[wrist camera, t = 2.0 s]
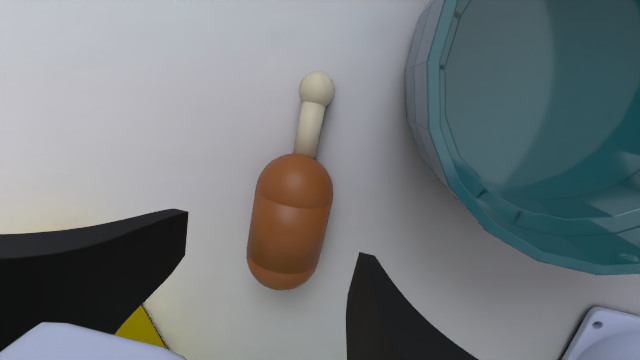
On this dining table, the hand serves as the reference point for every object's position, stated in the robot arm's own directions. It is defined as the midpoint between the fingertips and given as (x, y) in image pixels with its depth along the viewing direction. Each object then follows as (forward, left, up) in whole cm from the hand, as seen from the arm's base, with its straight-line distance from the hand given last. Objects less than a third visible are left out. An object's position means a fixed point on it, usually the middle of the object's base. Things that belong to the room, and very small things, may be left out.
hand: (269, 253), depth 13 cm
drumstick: (+2, 0, -6) cm, 6 cm away
